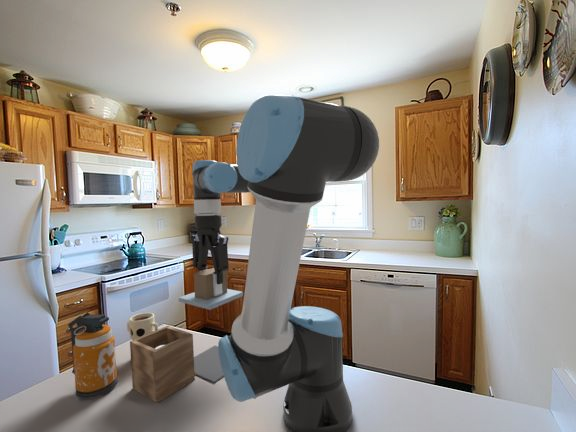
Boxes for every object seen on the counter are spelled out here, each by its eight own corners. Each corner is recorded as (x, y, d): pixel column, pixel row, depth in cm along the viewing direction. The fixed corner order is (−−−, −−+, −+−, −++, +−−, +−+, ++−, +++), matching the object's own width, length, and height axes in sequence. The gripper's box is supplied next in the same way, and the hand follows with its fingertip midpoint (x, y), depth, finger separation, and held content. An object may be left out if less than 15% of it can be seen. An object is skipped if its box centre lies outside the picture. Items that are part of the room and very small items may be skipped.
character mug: (120, 361, 90) (118, 320, 89) (137, 350, 97) (135, 311, 96) (151, 365, 87) (149, 322, 87) (166, 353, 94) (164, 313, 94)
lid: (243, 299, 89) (241, 268, 88) (210, 314, 78) (208, 279, 77) (213, 293, 96) (212, 264, 95) (179, 305, 85) (177, 273, 85)
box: (194, 379, 80) (192, 334, 79) (157, 403, 70) (154, 352, 70) (169, 367, 86) (167, 325, 85) (132, 388, 76) (129, 341, 76)
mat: (249, 358, 89) (249, 357, 89) (214, 383, 77) (214, 381, 77) (214, 346, 97) (214, 345, 97) (178, 367, 86) (178, 365, 86)
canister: (97, 403, 71) (92, 322, 70) (60, 398, 73) (54, 320, 72) (125, 381, 80) (120, 308, 79) (90, 377, 82) (86, 307, 81)
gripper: (239, 213, 84) (242, 294, 85) (197, 213, 94) (200, 285, 95) (220, 215, 77) (223, 302, 79) (177, 215, 87) (181, 292, 89)
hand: (211, 292), depth 87 cm, fingers closed on lid, 5 cm apart
